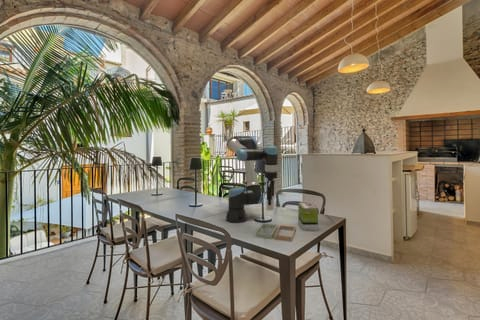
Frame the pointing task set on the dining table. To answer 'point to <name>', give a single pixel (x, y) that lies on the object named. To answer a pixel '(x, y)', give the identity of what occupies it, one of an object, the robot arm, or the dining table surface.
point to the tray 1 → (265, 233)
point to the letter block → (272, 203)
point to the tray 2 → (287, 238)
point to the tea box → (308, 216)
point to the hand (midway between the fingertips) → (270, 208)
